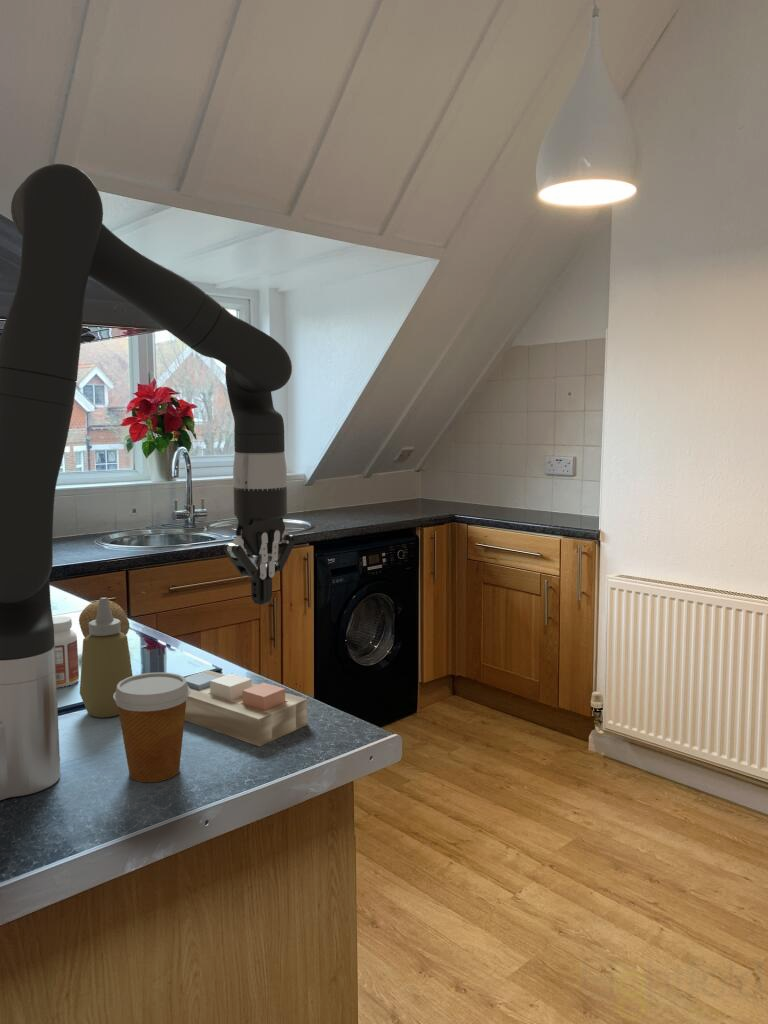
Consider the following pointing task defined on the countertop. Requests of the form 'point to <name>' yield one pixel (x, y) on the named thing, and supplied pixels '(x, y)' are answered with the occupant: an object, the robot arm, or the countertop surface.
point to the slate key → (199, 681)
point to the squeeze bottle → (103, 663)
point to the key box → (245, 716)
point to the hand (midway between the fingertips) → (262, 602)
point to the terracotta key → (263, 696)
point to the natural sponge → (91, 613)
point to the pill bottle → (65, 652)
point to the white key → (229, 686)
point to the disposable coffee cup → (152, 723)
